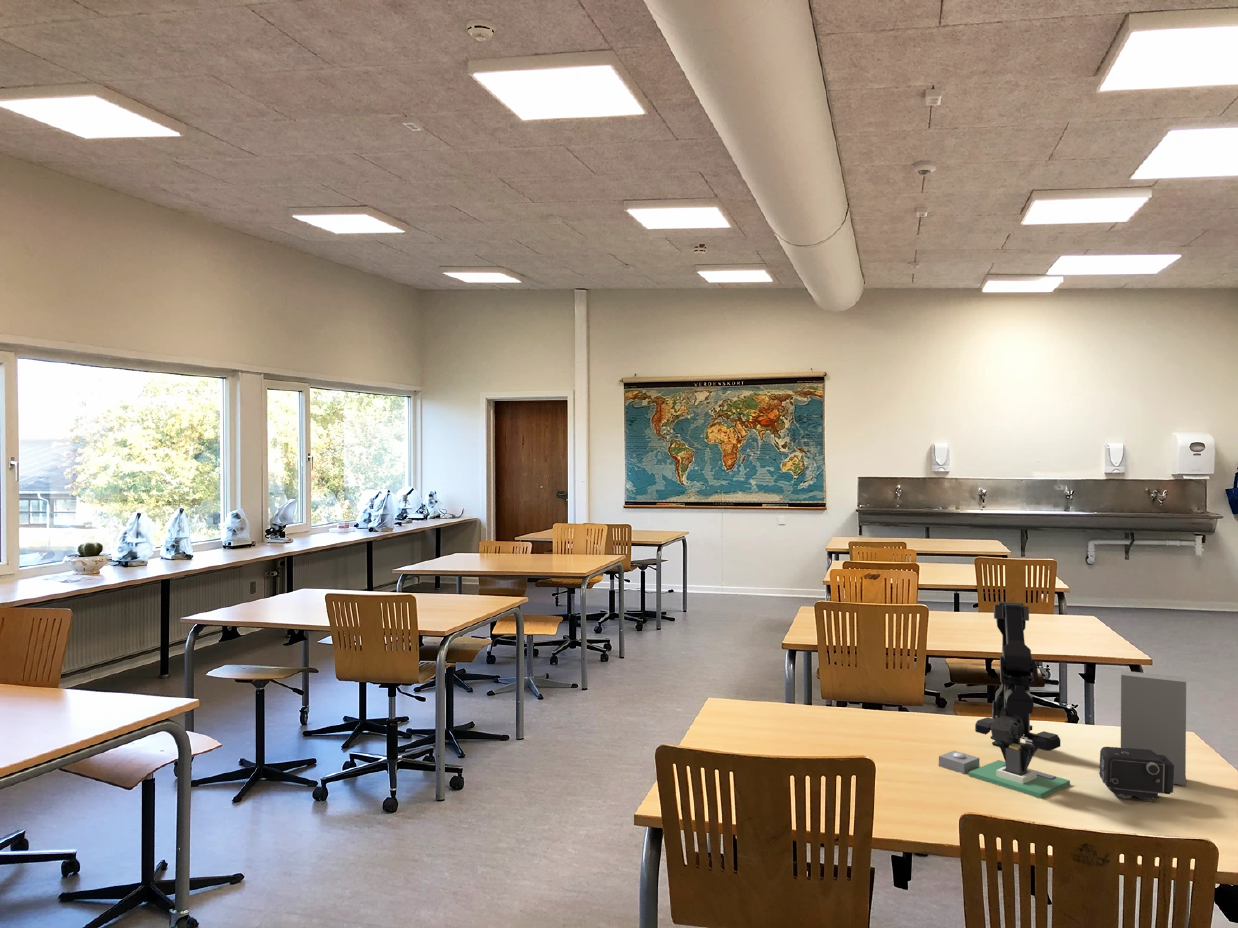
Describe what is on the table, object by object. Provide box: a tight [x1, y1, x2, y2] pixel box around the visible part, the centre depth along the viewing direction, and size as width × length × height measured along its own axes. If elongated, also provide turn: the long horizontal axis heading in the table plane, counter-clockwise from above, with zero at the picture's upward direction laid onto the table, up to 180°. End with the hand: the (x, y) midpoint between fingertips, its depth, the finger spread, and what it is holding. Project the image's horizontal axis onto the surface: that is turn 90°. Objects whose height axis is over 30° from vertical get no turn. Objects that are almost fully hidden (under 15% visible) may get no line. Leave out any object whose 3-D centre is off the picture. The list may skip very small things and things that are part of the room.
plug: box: [1006, 744, 1027, 776], centre depth 216 cm, size 4×4×7 cm
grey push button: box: [938, 750, 980, 775], centre depth 225 cm, size 7×7×3 cm
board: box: [968, 759, 1071, 799], centre depth 216 cm, size 14×18×2 cm
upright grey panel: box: [1120, 670, 1187, 786], centre depth 218 cm, size 14×6×25 cm, turn 59°
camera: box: [1098, 746, 1174, 802], centre depth 205 cm, size 10×11×14 cm
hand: (1016, 768), depth 216 cm, fingers closed on plug, 3 cm apart
